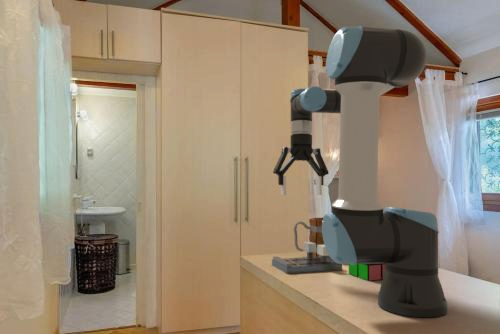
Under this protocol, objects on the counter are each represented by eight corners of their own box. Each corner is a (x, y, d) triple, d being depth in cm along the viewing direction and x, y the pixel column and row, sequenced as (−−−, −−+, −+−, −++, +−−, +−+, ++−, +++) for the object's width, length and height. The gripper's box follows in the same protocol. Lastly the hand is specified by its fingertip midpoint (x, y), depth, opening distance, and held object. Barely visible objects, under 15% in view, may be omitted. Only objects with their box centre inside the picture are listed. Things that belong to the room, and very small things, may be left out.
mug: (339, 254, 163) (339, 217, 164) (347, 260, 150) (347, 220, 150) (292, 253, 163) (292, 217, 164) (295, 260, 150) (295, 220, 150)
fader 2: (330, 262, 133) (330, 246, 134) (323, 263, 133) (323, 246, 133) (324, 260, 138) (324, 244, 138) (317, 260, 137) (317, 244, 137)
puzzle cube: (394, 278, 122) (394, 246, 122) (368, 281, 118) (368, 247, 119) (373, 271, 131) (373, 241, 132) (348, 274, 128) (348, 243, 128)
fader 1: (315, 259, 140) (315, 243, 140) (308, 259, 139) (308, 244, 139) (310, 256, 144) (310, 241, 144) (303, 257, 143) (303, 242, 143)
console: (342, 270, 133) (342, 261, 133) (286, 273, 127) (286, 264, 127) (322, 262, 146) (322, 253, 147) (271, 264, 141) (271, 256, 141)
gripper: (327, 136, 146) (327, 194, 145) (264, 133, 138) (263, 194, 137) (338, 134, 139) (338, 195, 138) (272, 131, 131) (271, 195, 130)
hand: (301, 194), depth 138 cm, fingers open, 13 cm apart
